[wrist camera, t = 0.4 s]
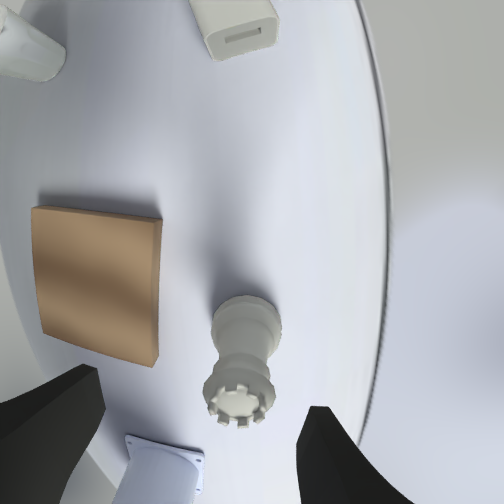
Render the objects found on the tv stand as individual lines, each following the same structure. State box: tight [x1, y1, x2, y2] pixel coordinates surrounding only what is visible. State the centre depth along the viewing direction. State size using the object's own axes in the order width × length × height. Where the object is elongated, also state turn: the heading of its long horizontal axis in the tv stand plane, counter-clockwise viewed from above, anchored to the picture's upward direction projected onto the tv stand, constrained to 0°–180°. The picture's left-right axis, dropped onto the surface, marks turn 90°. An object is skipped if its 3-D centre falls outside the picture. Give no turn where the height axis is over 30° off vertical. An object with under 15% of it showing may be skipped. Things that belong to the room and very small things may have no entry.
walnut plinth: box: [31, 205, 163, 368], centre depth 18 cm, size 10×10×2 cm
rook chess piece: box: [203, 295, 282, 428], centre depth 15 cm, size 4×4×8 cm
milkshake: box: [0, 4, 66, 82], centre depth 10 cm, size 4×5×10 cm
